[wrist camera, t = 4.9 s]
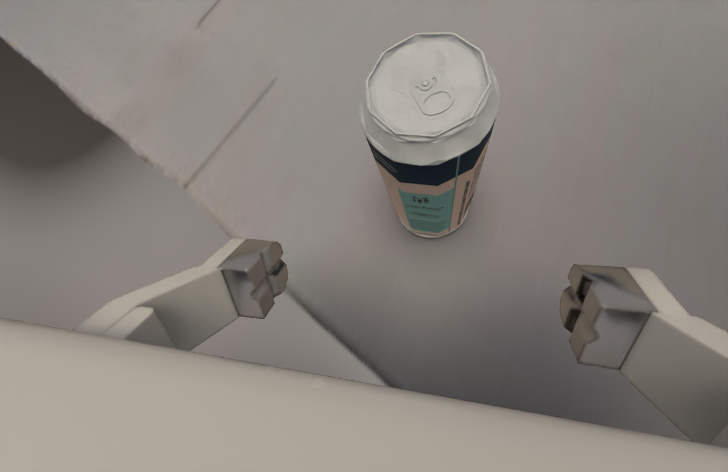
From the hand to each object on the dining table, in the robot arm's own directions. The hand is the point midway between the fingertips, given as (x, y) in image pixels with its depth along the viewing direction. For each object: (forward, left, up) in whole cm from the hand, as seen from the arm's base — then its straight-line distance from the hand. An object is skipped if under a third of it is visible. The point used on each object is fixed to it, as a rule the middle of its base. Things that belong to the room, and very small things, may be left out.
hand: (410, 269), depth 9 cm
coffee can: (+6, -2, -12) cm, 13 cm away
